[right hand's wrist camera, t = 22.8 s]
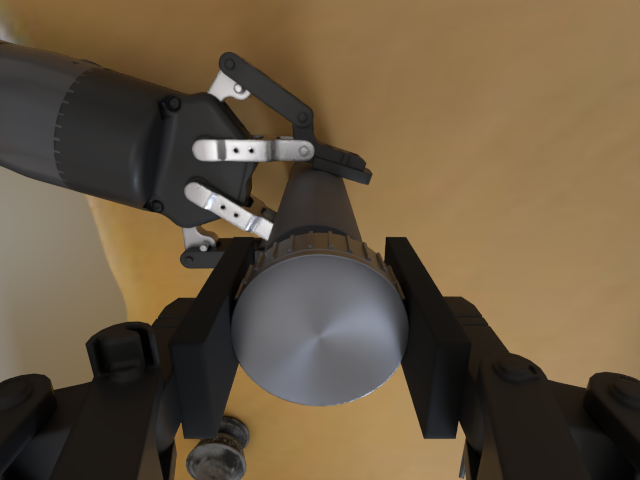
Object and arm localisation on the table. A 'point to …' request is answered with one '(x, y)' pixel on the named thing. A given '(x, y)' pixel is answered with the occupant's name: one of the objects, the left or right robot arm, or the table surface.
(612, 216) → the table surface
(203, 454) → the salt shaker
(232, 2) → the table surface
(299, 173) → the dark grey cylinder
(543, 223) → the table surface
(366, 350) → the lid
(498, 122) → the table surface
